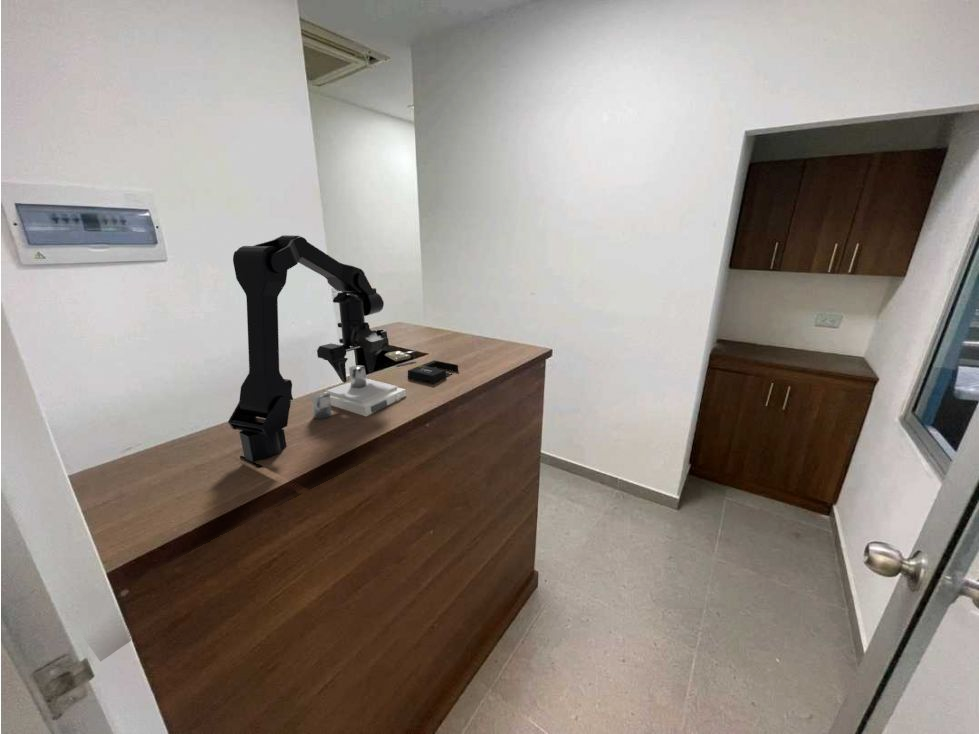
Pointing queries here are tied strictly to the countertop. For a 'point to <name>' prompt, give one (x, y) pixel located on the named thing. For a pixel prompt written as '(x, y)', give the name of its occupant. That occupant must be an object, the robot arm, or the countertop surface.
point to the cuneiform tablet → (399, 355)
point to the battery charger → (431, 372)
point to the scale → (365, 396)
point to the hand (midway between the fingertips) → (358, 377)
